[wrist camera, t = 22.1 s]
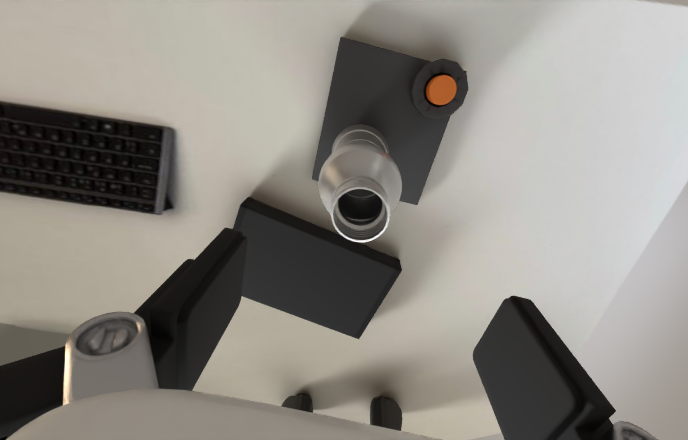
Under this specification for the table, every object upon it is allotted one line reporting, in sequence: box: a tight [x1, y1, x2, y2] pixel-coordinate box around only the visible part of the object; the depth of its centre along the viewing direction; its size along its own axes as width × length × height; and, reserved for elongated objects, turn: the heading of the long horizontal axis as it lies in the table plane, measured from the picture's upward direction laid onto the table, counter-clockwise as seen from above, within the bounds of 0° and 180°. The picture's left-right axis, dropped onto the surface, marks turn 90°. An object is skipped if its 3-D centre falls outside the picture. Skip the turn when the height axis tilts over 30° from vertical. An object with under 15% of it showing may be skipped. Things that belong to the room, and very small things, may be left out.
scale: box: [312, 37, 468, 205], centre depth 35 cm, size 16×14×3 cm
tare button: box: [426, 75, 457, 105], centre depth 31 cm, size 3×3×2 cm
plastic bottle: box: [318, 124, 402, 242], centre depth 27 cm, size 6×7×20 cm
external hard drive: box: [233, 197, 402, 339], centre depth 44 cm, size 14×23×3 cm, turn 66°
